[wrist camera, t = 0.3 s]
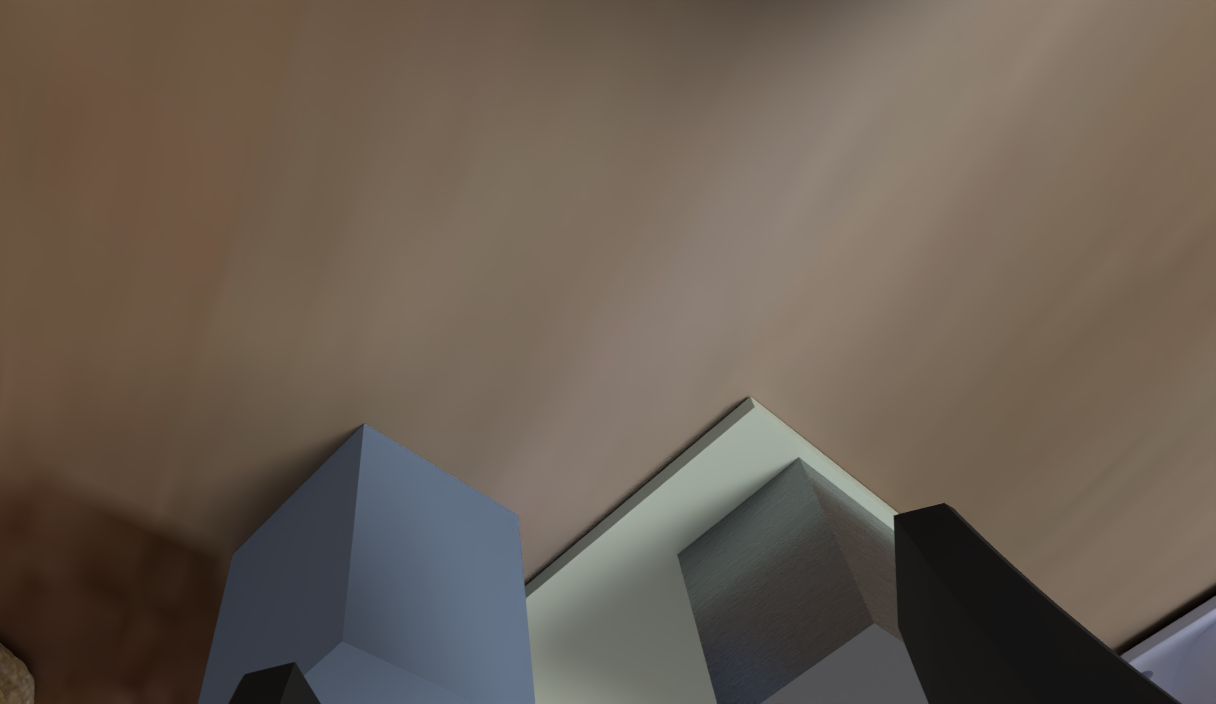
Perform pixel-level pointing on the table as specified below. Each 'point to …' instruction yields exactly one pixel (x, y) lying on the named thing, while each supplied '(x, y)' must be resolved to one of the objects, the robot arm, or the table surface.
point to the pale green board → (657, 571)
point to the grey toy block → (800, 599)
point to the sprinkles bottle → (14, 680)
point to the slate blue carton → (380, 588)
